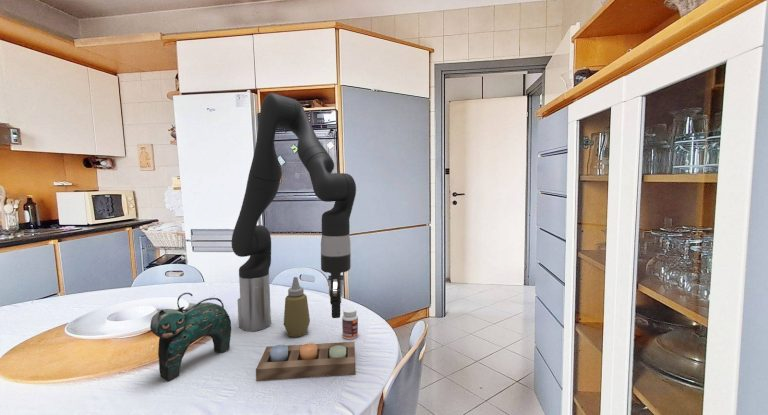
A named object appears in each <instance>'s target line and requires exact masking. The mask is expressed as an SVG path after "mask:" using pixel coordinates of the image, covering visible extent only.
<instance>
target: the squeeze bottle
mask: <svg viewBox="0 0 768 415" xmlns="http://www.w3.org/2000/svg"><path fill="white" fill-rule="evenodd" d="M291 284H292V285H291V287H290V288H288V290H287V295H286V297H285V300H284V301H285V302H284V314H283V327H284V328H285V331H286V333H287V335H288V337H289V336H290V337H293V338H294V337H295V338H297V337H301V336H304V335H306V334H307V333H308V330H309V326H310V321H311V318H310V310H309V303H308V297H307V296H308V295H306V293H304V292H305V291H304V287H302V286H301V284H300V282H299V278H298V277H297V276H295V277H293V279H292V283H291Z"/></svg>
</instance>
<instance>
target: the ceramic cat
mask: <svg viewBox="0 0 768 415" xmlns="http://www.w3.org/2000/svg"><path fill="white" fill-rule="evenodd" d="M184 295H190V296H191V297H193V294H192V293H190V292H184V293H181V294H180V295H179V296H178V298H177V303H176V304H177V309H173V308H166V309H165V308H164V309H163V308H162V309H161V310H159V311H157V312H156V313H155V314H154V315H153V316H152V317H151V318H150V319H151V320H150V331H151V332H152V333H153V335H155V336H156V337H158V348H157V349H158V352H157V353H158V369H159V377H160V378H161V379H162V380H164V381H167V382H170V381H171V380H174V379H176V378H178V377H179V376H180V370H181V364H182V361H183V358H184V355H185V353H186V352H187V350H188V348H189V347H190V346H191V345H192V344H194V343H195V342H196V341H198V340H199V339H202V338H203V337H204V338H205V337H210V338H211V339H212V342H213V351H214V352H215V353H218V354H224V353H226V352H228V351H229V350H230V347H231V346H230V344H231V337H232V321H231V318H230V315H229V314H228V311H226V309H225V307H224V303H223V300H221V298H218V297H209V298H205V299H202V300H200V301H199V302H198V303H195V304H193V305H191V306H188V307H187V308H186V307H185V306H182V307H181V306H180V304H179V303H180V302H179V301H180V299H181V297H182V296H184ZM211 300H216V301H218V302H220V304H221V305H220V304H217V303H213V302H206V301H211Z"/></svg>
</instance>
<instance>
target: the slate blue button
mask: <svg viewBox="0 0 768 415" xmlns="http://www.w3.org/2000/svg"><path fill="white" fill-rule="evenodd" d="M286 345H287V344H277V345H273V346H274V347H272V348H271V349H270V358H271V362H279V361H288V346H286Z"/></svg>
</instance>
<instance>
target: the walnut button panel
mask: <svg viewBox="0 0 768 415" xmlns="http://www.w3.org/2000/svg"><path fill="white" fill-rule="evenodd" d="M315 344H316V345H317V354H318V358H317V359H312V360H300V347H301V346H302V345H303V344H293V345H292V344H289V345H287V344H285V345H286V346H288V361H279V362H271V358H270V349H271V348H272V347H274V346H275V345H272V346H270V345H269V346H266V347H265V349H264V351H263V353H262V355H261V357H260V359H259V361H258V365H257V366H256V368H255V378H256V379H255V381H256V382H261V381H263V382H264V381H265V382H266V381H276V380H292V379H307V378H320V377H322V378H323V377H337V376H338V377H339V376H347V375H348V376H349V375H356V372H357V371H356V346H355V345H356V344H355V341H343V342H326V343H325V342H322V343H315ZM338 345H340V346H344V347H346V357H344V358H330V357H329V349H330V348H331V347H333V346H338Z"/></svg>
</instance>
